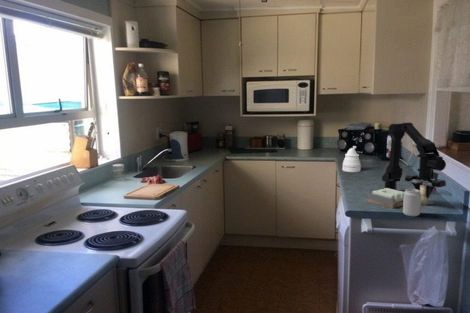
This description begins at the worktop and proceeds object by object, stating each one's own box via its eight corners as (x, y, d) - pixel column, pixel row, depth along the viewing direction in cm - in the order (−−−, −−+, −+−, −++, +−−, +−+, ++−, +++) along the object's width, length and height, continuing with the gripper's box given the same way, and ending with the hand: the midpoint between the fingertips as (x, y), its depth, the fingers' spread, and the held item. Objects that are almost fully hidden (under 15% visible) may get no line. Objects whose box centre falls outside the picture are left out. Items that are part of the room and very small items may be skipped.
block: (386, 195, 206) (386, 187, 205) (405, 199, 196) (405, 192, 196) (372, 198, 200) (372, 191, 199) (391, 203, 190) (391, 195, 190)
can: (415, 211, 182) (416, 187, 180) (423, 216, 174) (424, 191, 172) (399, 212, 181) (401, 188, 179) (407, 217, 174) (408, 192, 172)
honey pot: (358, 168, 286) (358, 145, 283) (362, 171, 273) (362, 147, 270) (341, 168, 287) (341, 145, 284) (344, 172, 275) (344, 147, 272)
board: (390, 195, 211) (390, 187, 211) (416, 201, 198) (417, 193, 197) (366, 201, 201) (366, 192, 200) (392, 208, 188) (392, 199, 187)
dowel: (422, 203, 195) (423, 184, 194) (429, 204, 192) (430, 185, 190) (417, 204, 193) (418, 185, 192) (424, 206, 190) (425, 186, 188)
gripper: (453, 167, 186) (450, 198, 188) (418, 162, 201) (416, 190, 204) (440, 170, 180) (438, 202, 183) (405, 165, 196) (403, 194, 198)
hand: (423, 196), depth 192 cm, fingers closed on dowel, 4 cm apart
